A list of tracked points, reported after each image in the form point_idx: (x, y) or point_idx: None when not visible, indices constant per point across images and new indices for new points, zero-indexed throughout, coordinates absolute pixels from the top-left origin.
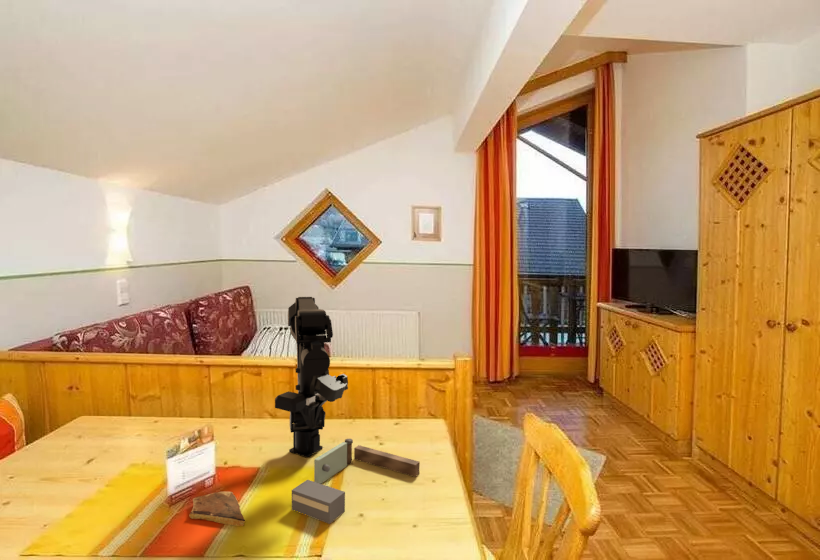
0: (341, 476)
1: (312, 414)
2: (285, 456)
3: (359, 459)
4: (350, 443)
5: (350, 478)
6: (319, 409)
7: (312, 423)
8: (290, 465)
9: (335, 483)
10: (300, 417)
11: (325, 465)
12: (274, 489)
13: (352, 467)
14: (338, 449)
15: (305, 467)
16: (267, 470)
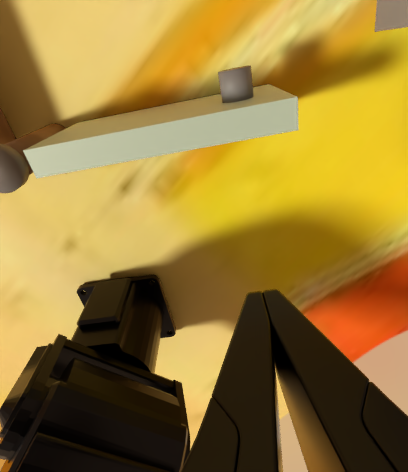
0: (149, 66)
1: (385, 420)
2: (199, 318)
3: (1, 117)
4: (2, 144)
5: (129, 13)
6: (219, 468)
7: (300, 319)
8: (227, 272)
9: (208, 35)
10: (159, 434)
11: (241, 86)
12: (375, 190)
13: (63, 93)
14: (107, 133)
15: (203, 230)
16: (292, 293)
